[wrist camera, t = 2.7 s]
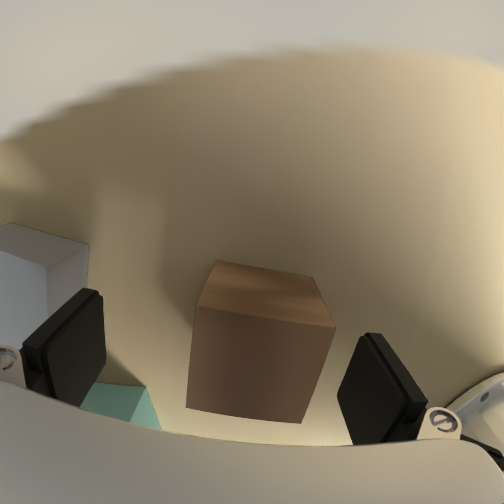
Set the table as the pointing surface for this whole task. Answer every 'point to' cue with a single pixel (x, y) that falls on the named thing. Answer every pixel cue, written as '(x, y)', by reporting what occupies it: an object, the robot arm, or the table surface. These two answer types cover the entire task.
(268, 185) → the table surface
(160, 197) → the table surface
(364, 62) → the table surface
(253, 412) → the walnut block
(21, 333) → the base block
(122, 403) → the teal block
